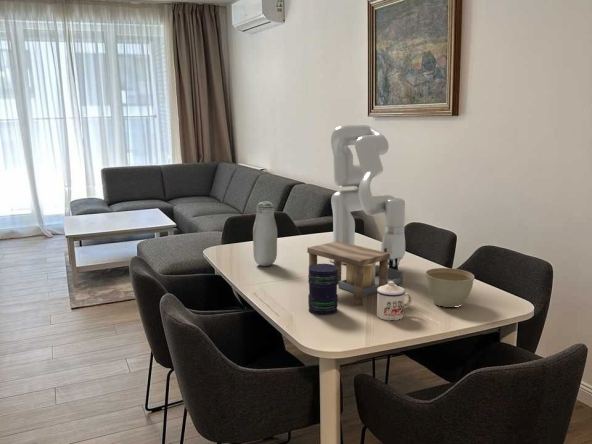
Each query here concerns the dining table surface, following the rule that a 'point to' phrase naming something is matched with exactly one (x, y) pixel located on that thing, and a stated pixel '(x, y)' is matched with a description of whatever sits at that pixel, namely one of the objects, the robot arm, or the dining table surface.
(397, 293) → the teacup with lid
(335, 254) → the low table
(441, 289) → the planter bowl
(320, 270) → the storage jar
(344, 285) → the tray
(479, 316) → the dining table surface
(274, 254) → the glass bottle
